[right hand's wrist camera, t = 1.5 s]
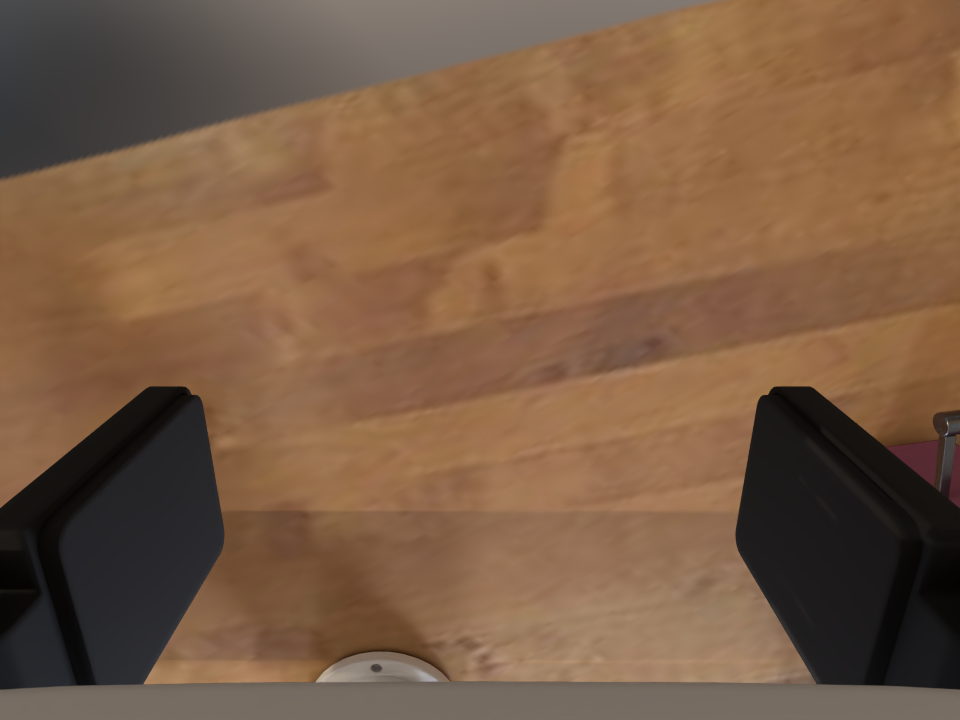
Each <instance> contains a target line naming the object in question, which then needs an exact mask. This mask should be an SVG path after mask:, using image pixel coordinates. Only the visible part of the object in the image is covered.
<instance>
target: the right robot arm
mask: <svg viewBox="0 0 960 720" xmlns="http://www.w3.org/2000/svg"><path fill="white" fill-rule="evenodd" d="M223 544H224V526H223V520H222V514H221V509H220V503H219V497H218V491H217V485H216V479H215V473H214V468H213V462H212V456H211V450H210V444H209V438H208V432H207V426H206V421H205V415H204V409H203V404H202V401H201V399H200V397H199V396H198V395H192V394H191V392H190V390H189V389H188V388H186V387H148V388H146V389H145V390H144V391H143V392H141V393H140V394H139V395H138V396H136V397H135V398H134V399H133V400H132V401H130V402H129V403H128V404H127V405H125V406H124V407H123V408H122V409H121V410H119V411H118V412H117V413H116V414H114V415H113V416H112V417H111V418H110V419H108V420H107V421H106V422H105V423H103V424H102V425H101V426H100V427H99V428H97V429H96V430H95V431H94V432H93V433H91V434H90V435H89V436H88V437H86V438H85V439H84V440H83V441H82V442H80V443H79V444H78V445H77V446H75V447H74V448H73V449H72V450H71V451H69V452H68V453H67V454H66V455H64V456H63V457H62V458H61V459H60V460H58V461H57V462H56V463H55V464H53V465H52V466H51V467H50V468H49V469H47V470H46V471H45V472H44V473H43V474H41V475H40V476H39V477H38V478H36V479H35V480H34V481H33V482H32V483H30V484H29V485H28V486H27V487H25V488H24V489H23V490H22V491H21V492H19V493H18V494H17V495H16V496H14V497H13V498H12V499H11V500H10V501H8V502H7V503H6V504H5V505H3V506H2V507H1V508H0V720H960V508H959V507H958V506H957V505H955V504H954V503H953V502H952V501H950V500H949V499H948V498H947V497H946V496H944V495H943V494H942V493H941V492H939V491H938V490H937V489H936V488H935V487H933V486H932V485H931V484H930V483H928V482H927V481H926V480H925V479H924V478H922V477H921V476H920V475H919V474H917V473H916V472H915V471H914V470H913V469H911V468H910V467H909V466H908V465H907V464H905V463H904V462H903V461H902V460H900V459H899V458H898V457H897V456H896V455H894V454H893V453H892V452H891V451H889V450H888V449H887V448H886V447H885V446H883V445H882V444H881V443H880V442H878V441H877V440H876V439H875V438H874V437H872V436H871V435H870V434H869V433H867V432H866V431H865V430H864V429H863V428H861V427H860V426H859V425H858V424H857V423H855V422H854V421H853V420H852V419H850V418H849V417H848V416H847V415H846V414H844V413H843V412H842V411H841V410H839V409H838V408H837V407H836V406H835V405H833V404H832V403H831V402H830V401H828V400H827V399H826V398H825V397H824V396H822V395H821V394H820V393H819V392H817V391H816V390H815V389H814V388H812V387H774V388H772V389H771V390H770V392H769V394H768V395H762V396H761V397H760V399H759V401H758V404H757V409H756V415H755V421H754V426H753V432H752V438H751V444H750V450H749V456H748V462H747V468H746V473H745V479H744V485H743V491H742V497H741V503H740V509H739V514H738V520H737V526H736V544H737V548H738V551H739V553H740V555H741V557H742V558H743V560H744V562H745V563H746V565H747V567H748V568H749V570H750V572H751V574H752V575H753V577H754V579H755V580H756V582H757V584H758V585H759V587H760V589H761V590H762V592H763V594H764V595H765V597H766V599H767V601H768V602H769V604H770V606H771V607H772V609H773V611H774V612H775V614H776V616H777V617H778V619H779V621H780V623H781V624H782V626H783V628H784V629H785V631H786V633H787V634H788V636H789V638H790V639H791V641H792V643H793V644H794V646H795V648H796V650H797V651H798V653H799V655H800V656H801V658H802V660H803V661H804V663H805V665H806V666H807V668H808V670H809V672H810V673H811V675H812V677H813V678H814V680H815V682H816V683H817V684H764V683H699V682H488V681H472V682H450V681H449V680H448V679H447V678H446V677H445V676H444V675H443V673H442V672H440V671H439V670H437V669H436V668H435V667H433V666H432V665H430V664H428V663H426V662H424V661H422V660H420V659H418V658H415V657H412V656H409V655H405V654H401V653H394V652H368V653H361V654H357V655H354V656H350V657H347V658H345V659H343V660H341V661H339V662H337V663H335V664H333V665H332V666H330V667H329V668H328V669H327V670H325V671H324V672H323V673H322V674H321V676H320V677H319V678H318V679H317V680H316V682H261V683H196V684H143V683H144V682H145V680H146V678H147V677H148V675H149V673H150V672H151V670H152V668H153V666H154V665H155V663H156V661H157V660H158V658H159V656H160V655H161V653H162V651H163V650H164V648H165V646H166V644H167V643H168V641H169V639H170V638H171V636H172V634H173V633H174V631H175V629H176V628H177V626H178V624H179V623H180V621H181V619H182V617H183V616H184V614H185V612H186V611H187V609H188V607H189V606H190V604H191V602H192V601H193V599H194V597H195V595H196V594H197V592H198V590H199V589H200V587H201V585H202V584H203V582H204V580H205V579H206V577H207V575H208V574H209V572H210V570H211V568H212V567H213V565H214V563H215V562H216V560H217V558H218V557H219V555H220V553H221V551H222V548H223Z"/></svg>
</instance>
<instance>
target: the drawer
mask: <svg viewBox="0 0 960 720" xmlns="http://www.w3.org/2000/svg"><path fill="white" fill-rule="evenodd" d="M933 425H934V428H935V430H936V432H937V433H938V434H939V440H936V441H928V442H921V443H913V444H906V445H898V446H891V447H886V448H887V449H888V450H889V451H891V452H892V453H893V454H894V455H896V456H897V457H898V458H899V459H900V460H902V461H903V462H904V463H905V464H907V465H908V466H909V467H910V468H911V469H913V470H914V471H915V472H916V473H917V474H919V475H920V476H921V477H922V478H924V479H925V480H926V481H927V482H928V483H930V484H931V485H932V486H933V487H935V488H936V489H937V490H938V491H939V492H941V493H942V494H943V495H944V496H946V497H947V498H948V499H949V500H950V501H952V502H953V503H954V504H955V505H957V506H958V507H959V508H960V446H958V445H957V444H956V435H958V434H960V410H955V411H947V412H940V413H937V414H935V415H934V418H933Z"/></svg>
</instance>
